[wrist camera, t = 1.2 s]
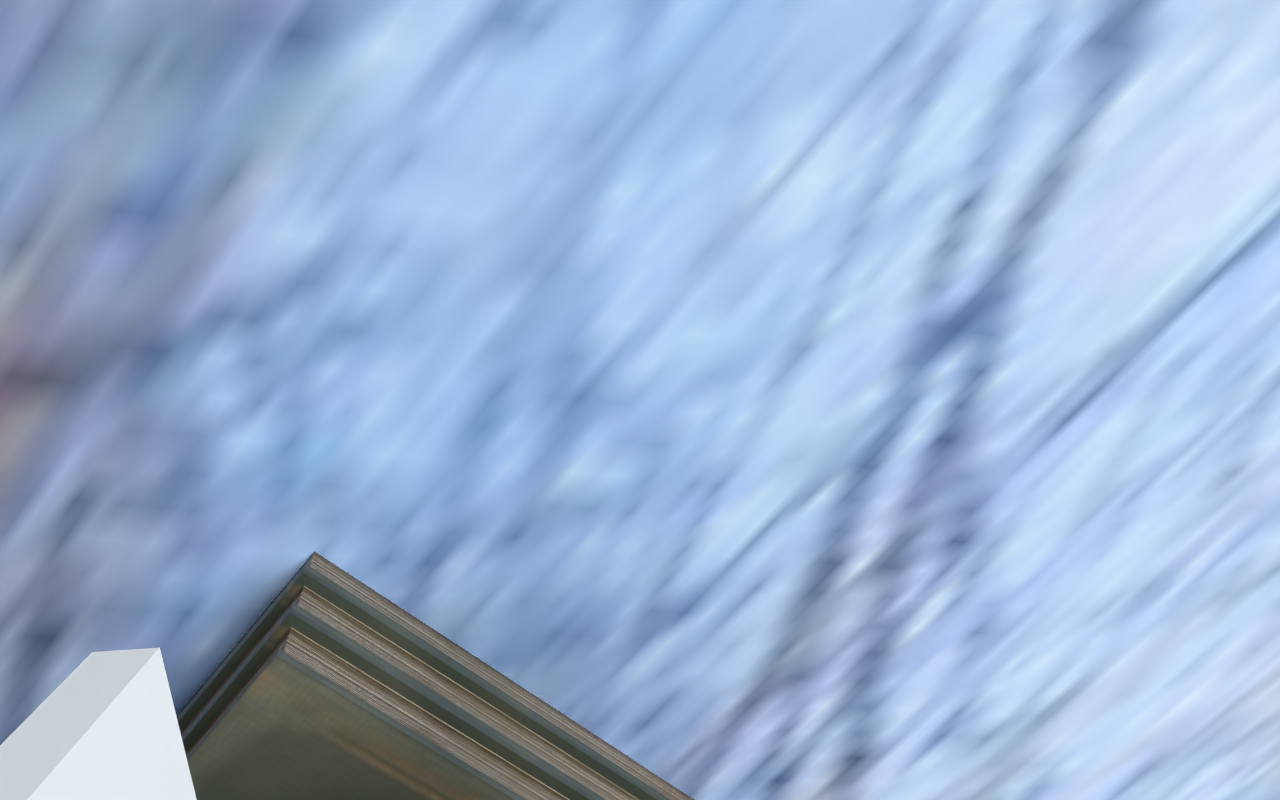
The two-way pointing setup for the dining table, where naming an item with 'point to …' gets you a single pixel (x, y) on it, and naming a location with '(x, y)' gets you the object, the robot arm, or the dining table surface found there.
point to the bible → (383, 714)
